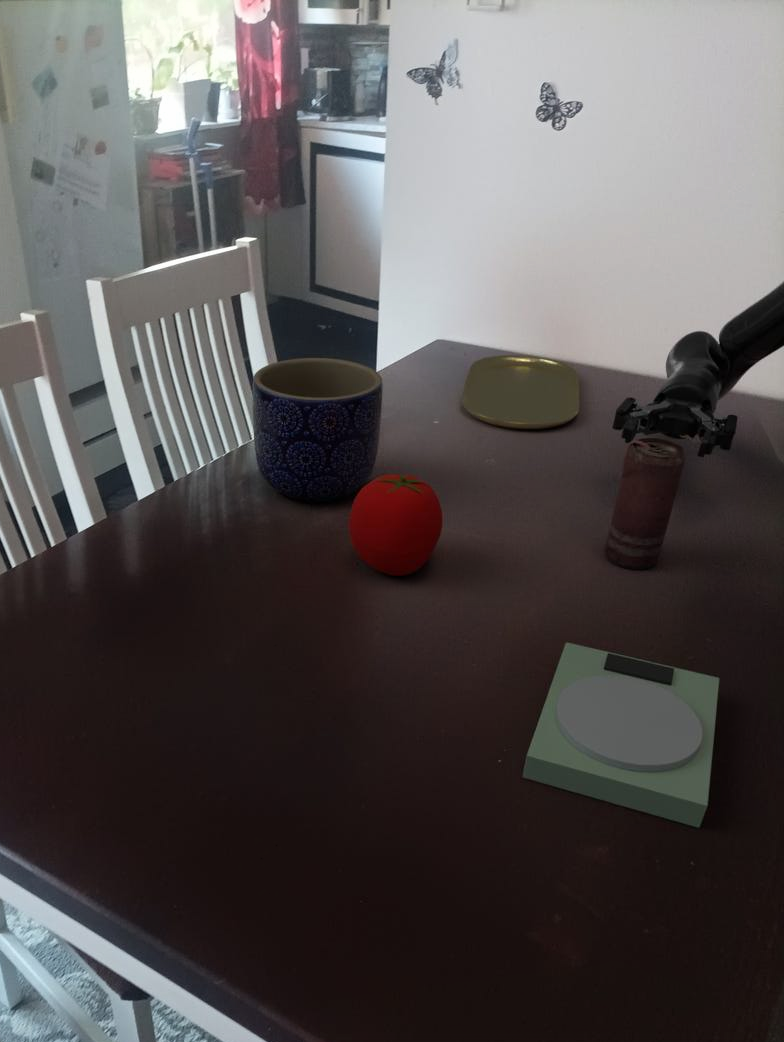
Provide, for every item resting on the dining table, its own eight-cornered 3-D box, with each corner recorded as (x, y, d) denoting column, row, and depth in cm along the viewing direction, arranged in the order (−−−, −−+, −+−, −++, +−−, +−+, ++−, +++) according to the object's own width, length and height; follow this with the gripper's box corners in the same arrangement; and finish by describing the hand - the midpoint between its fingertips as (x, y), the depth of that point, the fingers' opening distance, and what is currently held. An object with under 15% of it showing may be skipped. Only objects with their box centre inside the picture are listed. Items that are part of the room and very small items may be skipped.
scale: (561, 662, 89) (567, 635, 87) (712, 699, 84) (722, 670, 82) (522, 777, 75) (528, 747, 73) (699, 828, 71) (710, 798, 69)
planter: (330, 452, 131) (334, 350, 123) (401, 494, 120) (410, 384, 112) (232, 477, 124) (228, 370, 115) (297, 524, 112) (298, 409, 104)
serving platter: (454, 426, 140) (455, 416, 140) (473, 359, 168) (474, 351, 168) (577, 438, 137) (579, 428, 136) (576, 368, 165) (578, 359, 164)
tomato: (358, 591, 99) (363, 502, 93) (340, 546, 108) (343, 462, 102) (450, 584, 101) (460, 496, 95) (425, 540, 109) (433, 457, 103)
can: (606, 541, 110) (631, 431, 102) (661, 552, 108) (690, 441, 100) (597, 563, 105) (622, 450, 97) (653, 575, 103) (683, 461, 95)
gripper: (637, 365, 121) (612, 402, 109) (751, 382, 116) (737, 423, 104) (625, 418, 125) (599, 460, 113) (734, 438, 120) (719, 483, 108)
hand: (665, 442), depth 109 cm, fingers open, 8 cm apart
